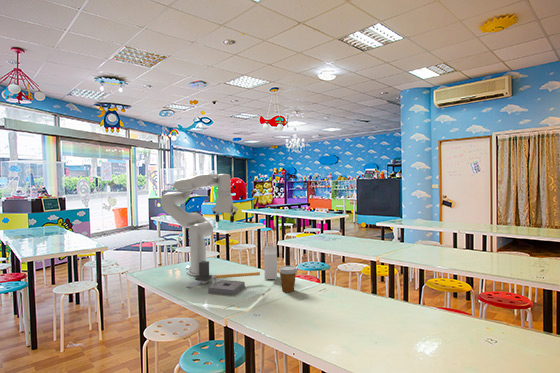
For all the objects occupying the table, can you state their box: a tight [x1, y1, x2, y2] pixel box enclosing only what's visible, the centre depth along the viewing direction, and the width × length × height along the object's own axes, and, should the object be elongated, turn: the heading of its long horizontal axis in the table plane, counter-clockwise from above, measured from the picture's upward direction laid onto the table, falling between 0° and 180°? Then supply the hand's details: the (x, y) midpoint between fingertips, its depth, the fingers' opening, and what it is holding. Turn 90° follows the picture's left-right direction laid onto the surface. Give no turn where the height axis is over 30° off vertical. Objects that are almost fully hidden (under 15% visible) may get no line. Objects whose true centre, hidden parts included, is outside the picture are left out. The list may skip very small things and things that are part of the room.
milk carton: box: [263, 245, 278, 281], centre depth 193 cm, size 7×7×19 cm
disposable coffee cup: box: [278, 265, 298, 293], centre depth 170 cm, size 10×10×12 cm
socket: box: [207, 278, 246, 296], centre depth 169 cm, size 17×14×6 cm
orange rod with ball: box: [211, 271, 261, 280], centre depth 177 cm, size 26×3×2 cm, turn 103°
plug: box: [194, 260, 213, 285], centre depth 182 cm, size 7×7×12 cm
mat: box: [186, 280, 202, 289], centre depth 182 cm, size 14×14×1 cm
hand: (224, 222), depth 197 cm, fingers open, 9 cm apart
